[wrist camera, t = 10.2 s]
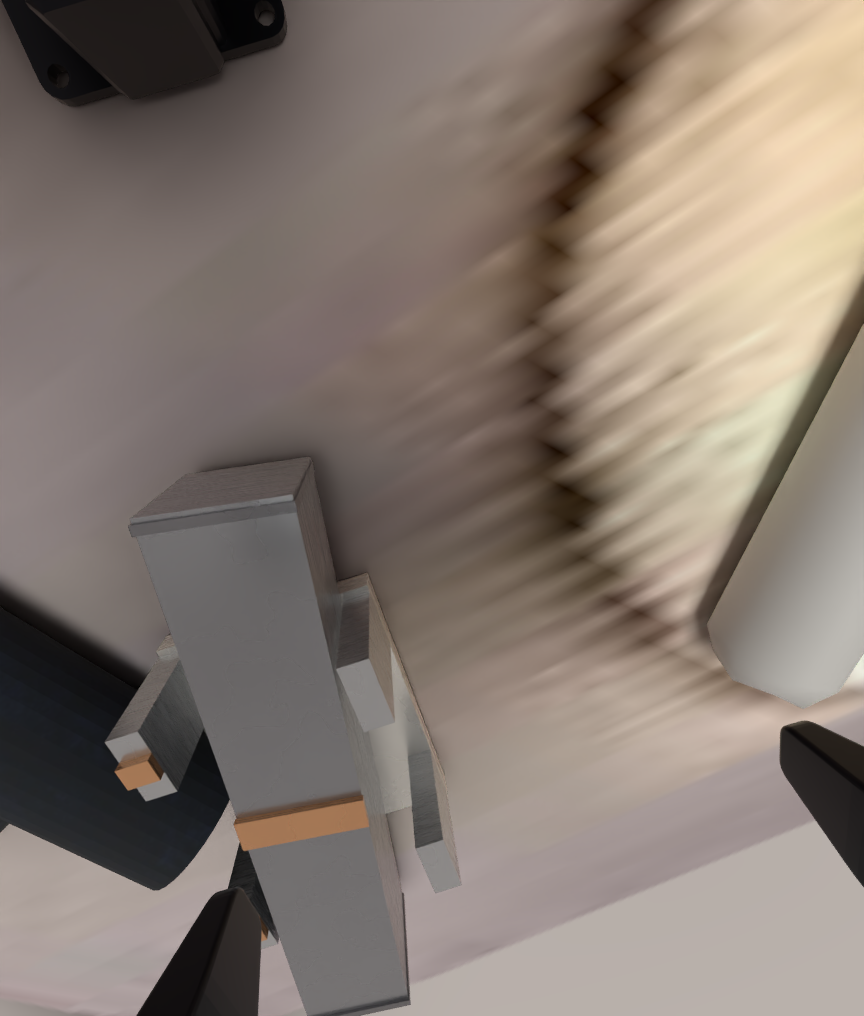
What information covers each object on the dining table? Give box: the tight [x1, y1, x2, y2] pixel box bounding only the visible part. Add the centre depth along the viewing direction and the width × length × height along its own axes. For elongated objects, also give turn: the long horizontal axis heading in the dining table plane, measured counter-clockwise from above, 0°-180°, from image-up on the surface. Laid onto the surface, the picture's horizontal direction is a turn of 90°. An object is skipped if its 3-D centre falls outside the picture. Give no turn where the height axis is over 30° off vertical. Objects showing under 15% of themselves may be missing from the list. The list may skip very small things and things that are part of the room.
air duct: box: [128, 457, 410, 1016], centre depth 18 cm, size 22×4×4 cm, turn 7°
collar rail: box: [105, 573, 462, 949], centre depth 19 cm, size 11×8×5 cm
